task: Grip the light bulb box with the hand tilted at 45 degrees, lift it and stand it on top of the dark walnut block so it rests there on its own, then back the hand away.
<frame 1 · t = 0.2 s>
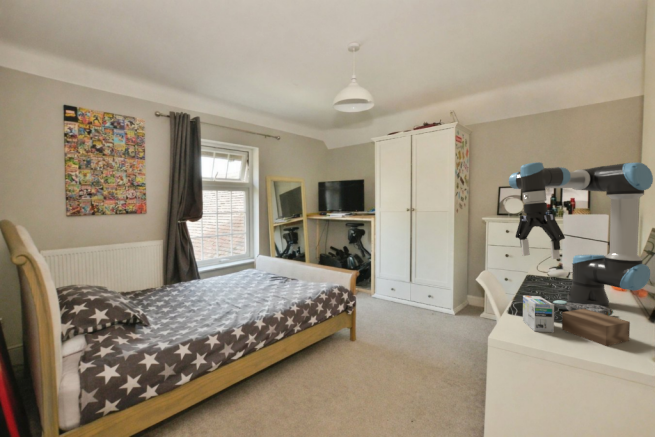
hand: (540, 257, 116), 27 cm above the table, tool pointing down, fingers open, 13 cm apart
light bulb box: (537, 327, 116), on the table
walnut block: (594, 335, 108), on the table
toy aircraft: (580, 314, 129), on the table
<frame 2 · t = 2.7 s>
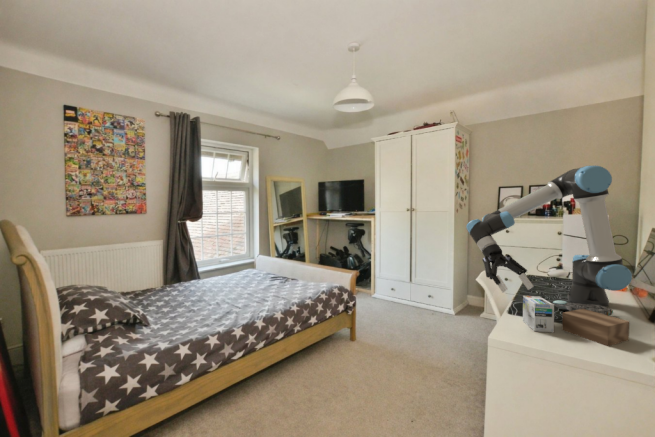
hand: (518, 289, 123), 13 cm above the table, tool tilted 45°, fingers open, 13 cm apart
nothing on the table moved.
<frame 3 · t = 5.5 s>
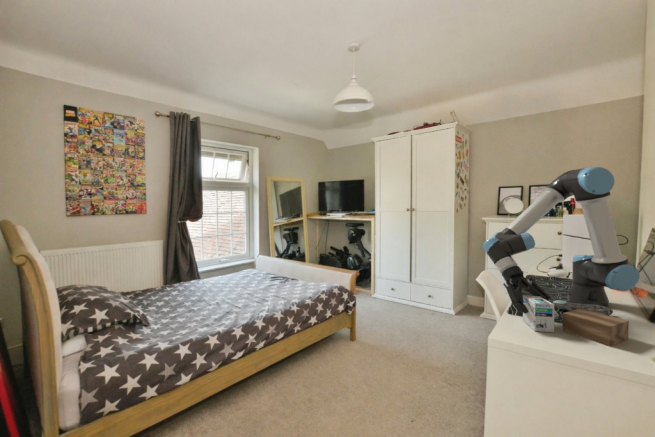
hand: (545, 319, 113), 4 cm above the table, tool tilted 45°, fingers closed on light bulb box, 10 cm apart
light bulb box: (537, 327, 116), on the table, touching gripper
everything else where it was.
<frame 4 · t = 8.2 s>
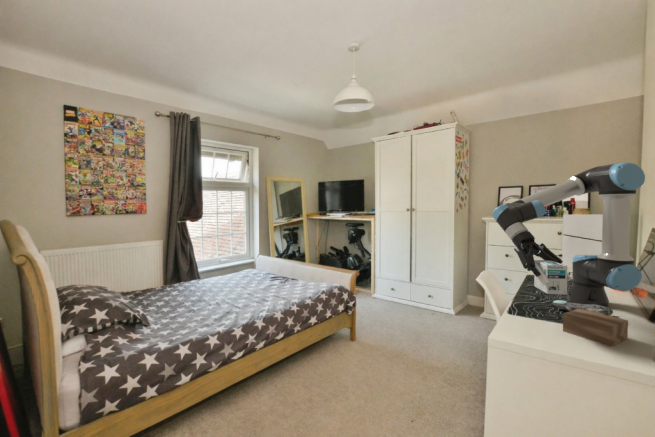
hand: (557, 281, 111), 19 cm above the table, tool tilted 45°, fingers closed on light bulb box, 10 cm apart
light bulb box: (549, 291, 114), point 15 cm above the table, touching gripper
everything else where it was.
when the fingers open (13 cm above the table, at t = 11.0 s): light bulb box drops 2 cm, resting on walnut block.
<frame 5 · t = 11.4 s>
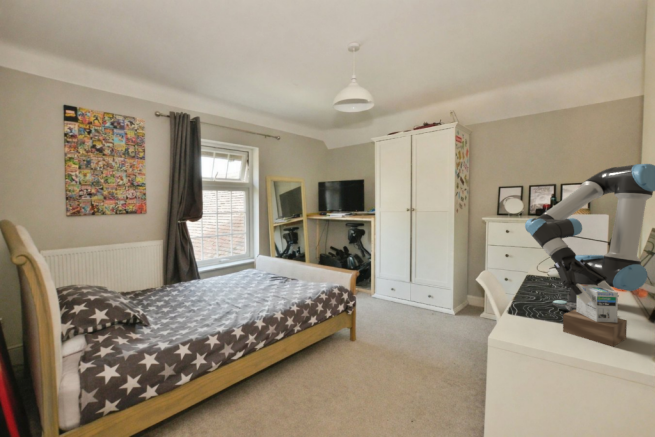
hand: (602, 300, 106), 13 cm above the table, tool tilted 45°, fingers open, 13 cm apart
light bulb box: (595, 317, 108), point 6 cm above the table, touching walnut block
walnut block: (593, 336, 108), on the table, touching light bulb box
everything else where it was.
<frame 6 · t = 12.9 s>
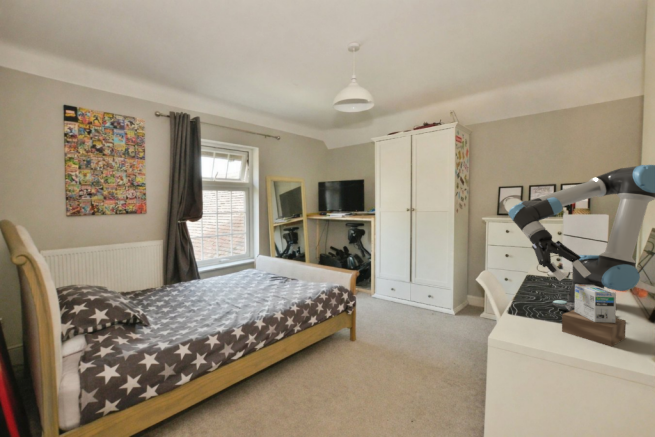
hand: (575, 277, 114), 20 cm above the table, tool tilted 45°, fingers open, 13 cm apart
nothing on the table moved.
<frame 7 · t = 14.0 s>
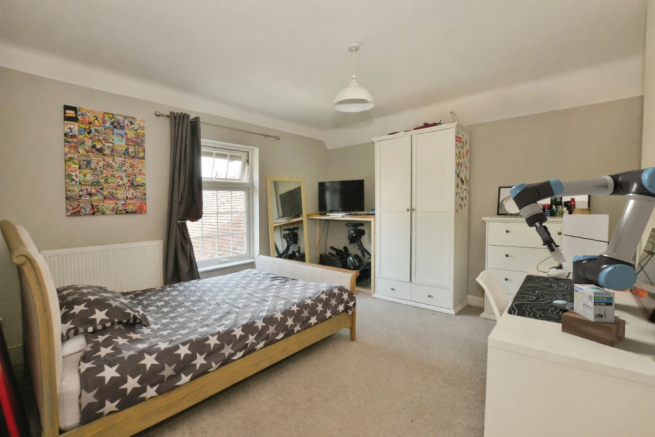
hand: (560, 261, 122), 24 cm above the table, tool tilted 30°, fingers open, 13 cm apart
light bulb box: (592, 317, 108), point 6 cm above the table
walnut block: (592, 335, 108), on the table
everything else where it was.
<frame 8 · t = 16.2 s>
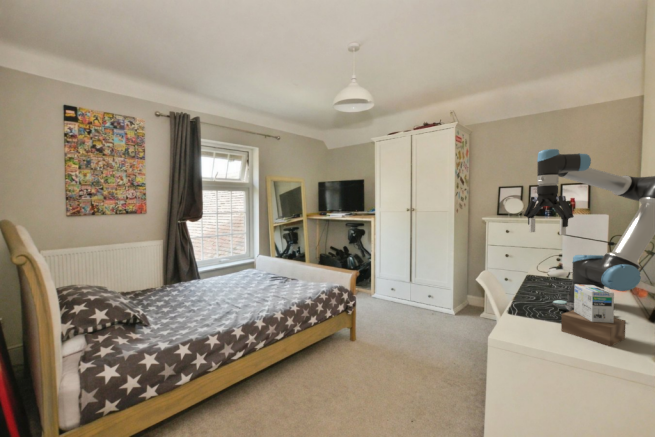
hand: (546, 233, 132), 35 cm above the table, tool pointing down, fingers open, 13 cm apart
light bulb box: (592, 317, 108), point 6 cm above the table, touching walnut block
walnut block: (592, 336, 108), on the table, touching light bulb box
everything else where it was.
at the end: light bulb box inside the target area on the walnut block (0.2 cm from its centre), point 6.8 cm above the walnut block's base; light bulb box tilted 0°; the gripper is holding nothing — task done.
